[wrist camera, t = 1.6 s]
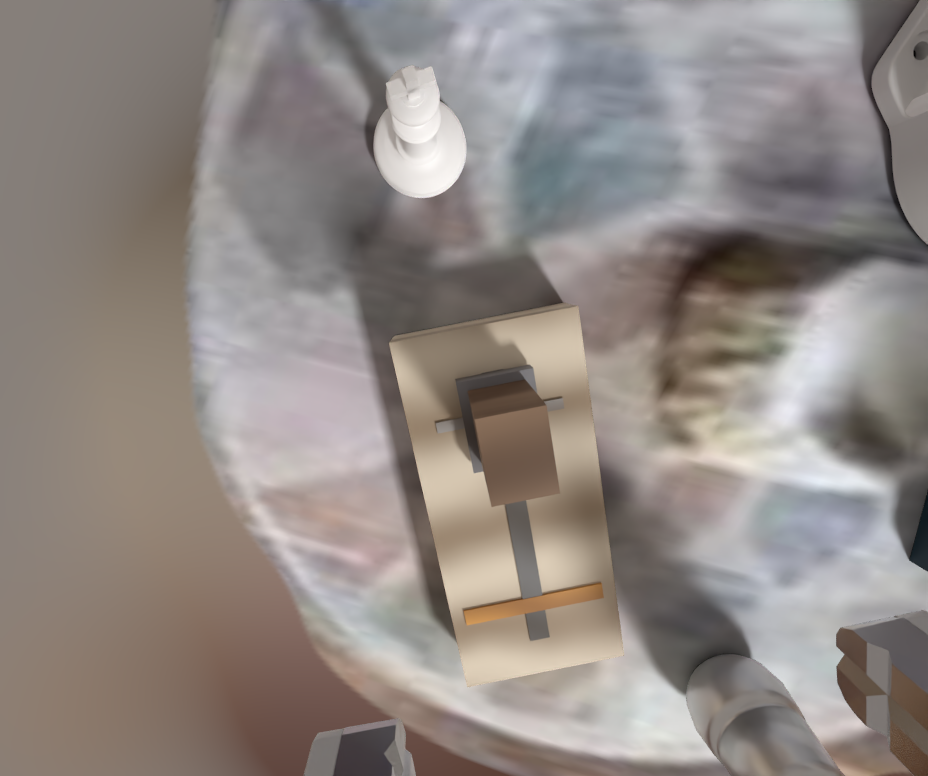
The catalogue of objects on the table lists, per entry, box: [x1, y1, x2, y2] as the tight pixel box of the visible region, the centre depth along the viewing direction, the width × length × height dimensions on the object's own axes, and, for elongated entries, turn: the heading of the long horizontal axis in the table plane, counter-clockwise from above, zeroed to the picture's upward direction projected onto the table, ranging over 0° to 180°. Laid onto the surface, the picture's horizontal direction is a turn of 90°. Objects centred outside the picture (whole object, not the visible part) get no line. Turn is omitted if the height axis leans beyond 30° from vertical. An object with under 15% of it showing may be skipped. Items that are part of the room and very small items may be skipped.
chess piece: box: [373, 65, 466, 198], centre depth 21 cm, size 5×5×10 cm
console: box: [389, 303, 624, 687], centre depth 29 cm, size 22×10×3 cm, turn 11°
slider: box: [455, 364, 560, 507], centre depth 23 cm, size 5×4×6 cm
